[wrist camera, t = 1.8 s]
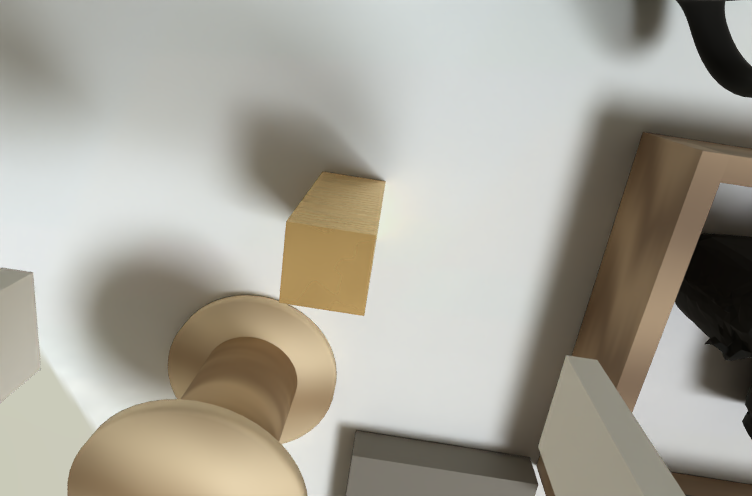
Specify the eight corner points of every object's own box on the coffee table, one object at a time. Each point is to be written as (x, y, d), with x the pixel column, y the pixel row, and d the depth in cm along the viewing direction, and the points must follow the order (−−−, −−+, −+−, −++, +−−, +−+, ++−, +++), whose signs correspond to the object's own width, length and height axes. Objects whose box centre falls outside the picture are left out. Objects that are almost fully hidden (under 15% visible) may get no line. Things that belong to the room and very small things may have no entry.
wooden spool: (174, 283, 27) (59, 395, 18) (346, 309, 27) (316, 435, 18) (173, 423, 30) (74, 578, 21) (327, 447, 30) (293, 613, 21)
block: (322, 171, 25) (286, 221, 17) (385, 181, 25) (376, 235, 17) (316, 231, 26) (279, 302, 18) (376, 240, 26) (364, 315, 18)
